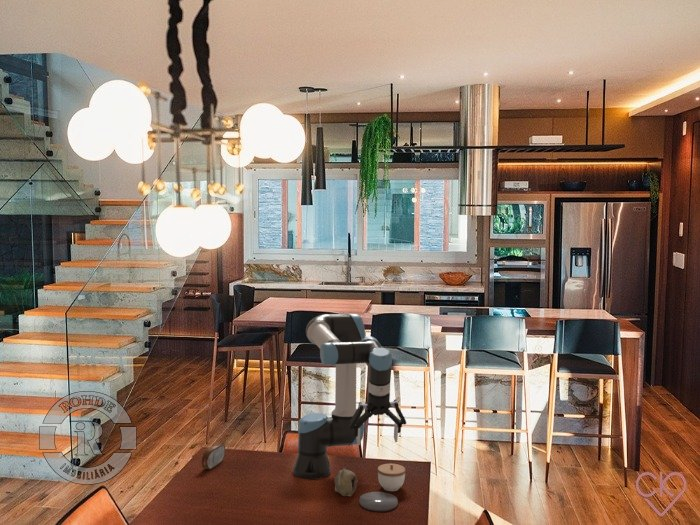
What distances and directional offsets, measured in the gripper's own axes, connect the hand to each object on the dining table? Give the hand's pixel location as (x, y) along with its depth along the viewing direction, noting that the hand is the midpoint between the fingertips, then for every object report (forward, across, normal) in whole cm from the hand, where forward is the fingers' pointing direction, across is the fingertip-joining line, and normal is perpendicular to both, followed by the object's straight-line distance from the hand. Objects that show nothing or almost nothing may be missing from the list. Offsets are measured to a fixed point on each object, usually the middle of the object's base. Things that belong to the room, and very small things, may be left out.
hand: (376, 441), depth 234 cm
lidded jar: (+29, +8, +7) cm, 31 cm away
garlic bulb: (+27, -10, +5) cm, 29 cm away
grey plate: (+24, +1, -4) cm, 25 cm away
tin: (+35, -61, +37) cm, 79 cm away
